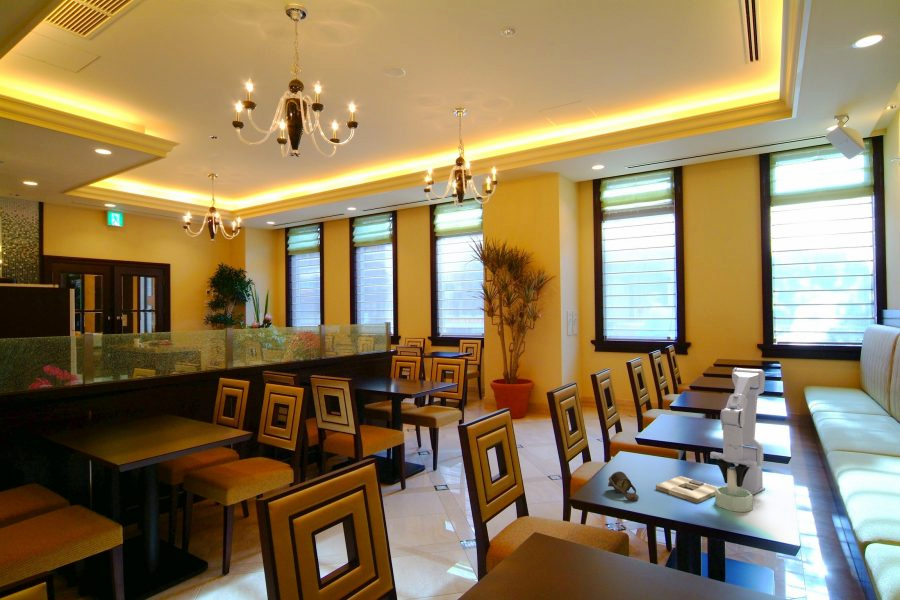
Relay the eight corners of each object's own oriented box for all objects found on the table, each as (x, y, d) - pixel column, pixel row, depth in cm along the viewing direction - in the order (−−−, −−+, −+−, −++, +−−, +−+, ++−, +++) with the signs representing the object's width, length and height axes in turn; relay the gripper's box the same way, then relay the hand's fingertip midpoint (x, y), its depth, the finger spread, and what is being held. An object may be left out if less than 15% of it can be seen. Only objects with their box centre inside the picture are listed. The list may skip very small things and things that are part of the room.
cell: (730, 490, 174) (730, 465, 174) (741, 493, 171) (741, 467, 171) (725, 492, 172) (724, 467, 172) (736, 495, 169) (735, 470, 169)
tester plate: (680, 479, 196) (680, 474, 196) (721, 492, 183) (721, 486, 183) (655, 489, 187) (655, 483, 187) (697, 503, 174) (697, 497, 174)
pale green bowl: (725, 496, 179) (725, 483, 179) (758, 506, 170) (758, 493, 170) (709, 503, 173) (708, 490, 173) (742, 514, 164) (742, 501, 164)
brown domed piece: (636, 474, 188) (609, 466, 190) (643, 483, 176) (613, 475, 177) (632, 493, 188) (605, 485, 190) (639, 503, 175) (609, 495, 177)
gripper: (705, 441, 175) (706, 480, 175) (749, 451, 163) (750, 493, 163) (716, 438, 179) (716, 476, 179) (760, 447, 167) (760, 488, 167)
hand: (733, 484), depth 172 cm, fingers closed on cell, 4 cm apart
